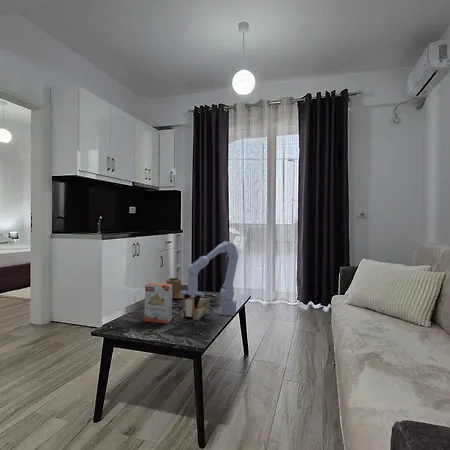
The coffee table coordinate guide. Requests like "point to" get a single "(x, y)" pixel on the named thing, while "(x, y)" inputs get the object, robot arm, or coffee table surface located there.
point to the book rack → (202, 309)
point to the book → (190, 306)
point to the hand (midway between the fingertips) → (192, 307)
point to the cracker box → (158, 303)
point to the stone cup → (175, 287)
